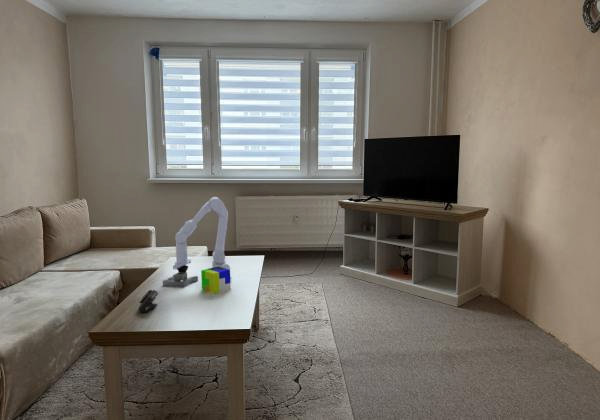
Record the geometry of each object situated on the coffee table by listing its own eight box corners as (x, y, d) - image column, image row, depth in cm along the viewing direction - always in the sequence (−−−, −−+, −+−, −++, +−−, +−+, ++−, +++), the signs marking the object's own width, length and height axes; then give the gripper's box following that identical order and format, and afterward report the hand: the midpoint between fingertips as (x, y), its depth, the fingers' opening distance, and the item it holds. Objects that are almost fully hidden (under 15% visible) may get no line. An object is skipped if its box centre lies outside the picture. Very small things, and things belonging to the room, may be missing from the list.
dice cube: (187, 281, 220) (187, 272, 219) (183, 284, 215) (182, 275, 215) (178, 281, 221) (178, 272, 221) (174, 284, 216) (173, 275, 216)
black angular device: (154, 307, 186) (140, 299, 185) (164, 293, 186) (151, 285, 184) (147, 319, 175) (133, 311, 173) (158, 304, 174) (144, 296, 172)
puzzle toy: (230, 289, 207) (230, 269, 206) (213, 294, 199) (213, 273, 198) (218, 285, 214) (218, 266, 212) (202, 289, 206) (201, 270, 205)
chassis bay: (173, 278, 226) (173, 273, 226) (198, 280, 223) (198, 274, 222) (160, 285, 214) (159, 279, 214) (186, 287, 211) (186, 281, 210)
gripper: (182, 251, 228) (183, 275, 229) (167, 257, 214) (168, 282, 215) (193, 251, 226) (194, 276, 228) (179, 257, 212) (180, 283, 214)
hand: (182, 279), depth 221 cm, fingers closed, pressing on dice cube
